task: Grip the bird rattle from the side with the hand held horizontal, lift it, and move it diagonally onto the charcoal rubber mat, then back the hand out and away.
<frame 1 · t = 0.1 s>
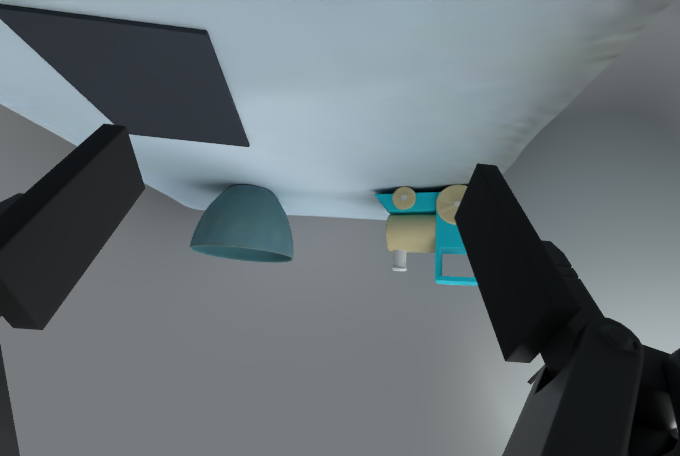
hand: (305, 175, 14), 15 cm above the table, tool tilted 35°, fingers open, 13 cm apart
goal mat: (155, 93, 37), on the table
toy train: (426, 192, 61), on the table
teal green bowl: (251, 190, 67), on the table
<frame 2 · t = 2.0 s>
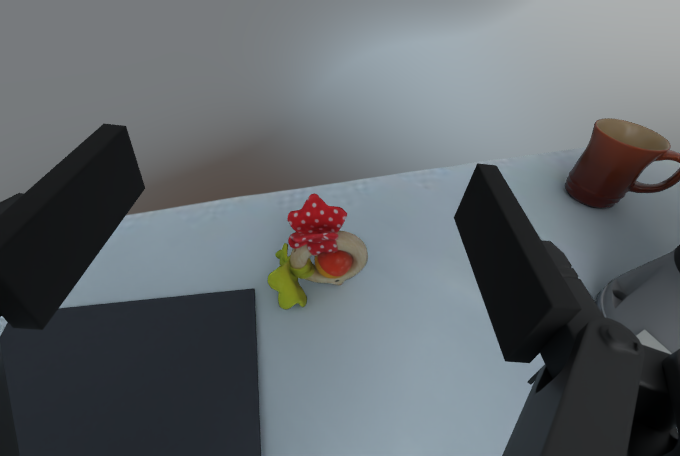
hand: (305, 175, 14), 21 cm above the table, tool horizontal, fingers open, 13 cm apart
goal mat: (122, 389, 27), on the table
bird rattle: (315, 285, 36), on the table
mug: (598, 201, 52), on the table
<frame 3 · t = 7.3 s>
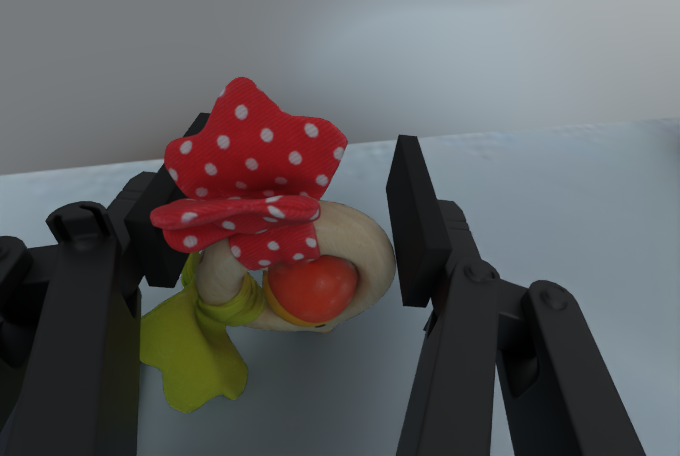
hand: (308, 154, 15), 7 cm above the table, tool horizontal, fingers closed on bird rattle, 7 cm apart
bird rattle: (271, 335, 16), on the table, touching gripper
when the fingers open (7 cm above the table, at t = 15.4 s): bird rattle stays where it is, resting on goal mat.
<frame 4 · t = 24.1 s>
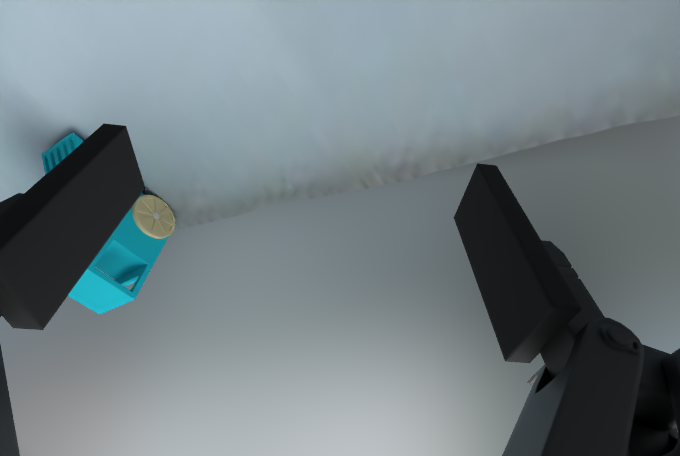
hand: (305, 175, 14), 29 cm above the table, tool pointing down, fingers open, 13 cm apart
toy train: (118, 186, 50), on the table
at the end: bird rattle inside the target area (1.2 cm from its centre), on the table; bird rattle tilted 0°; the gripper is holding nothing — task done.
